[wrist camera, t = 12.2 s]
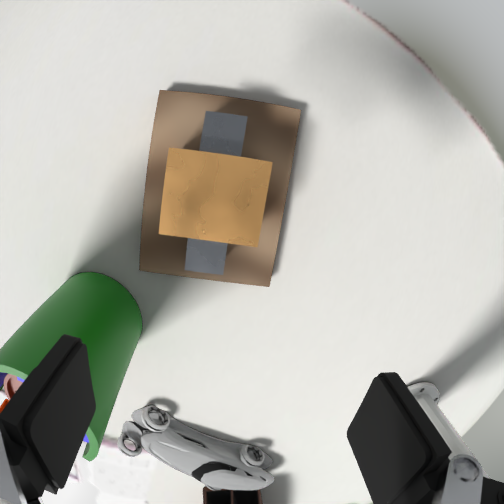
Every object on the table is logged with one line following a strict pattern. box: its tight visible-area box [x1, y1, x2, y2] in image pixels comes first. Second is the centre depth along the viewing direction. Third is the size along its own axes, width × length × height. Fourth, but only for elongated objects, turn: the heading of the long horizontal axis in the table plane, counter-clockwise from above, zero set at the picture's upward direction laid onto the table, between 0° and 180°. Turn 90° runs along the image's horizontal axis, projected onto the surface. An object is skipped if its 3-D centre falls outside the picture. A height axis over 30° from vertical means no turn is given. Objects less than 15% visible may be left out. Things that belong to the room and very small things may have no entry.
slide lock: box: [159, 148, 273, 247], centre depth 22 cm, size 6×7×4 cm
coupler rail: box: [185, 111, 248, 275], centre depth 23 cm, size 12×3×4 cm, turn 171°
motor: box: [0, 272, 142, 461], centre depth 19 cm, size 10×9×20 cm
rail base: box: [139, 90, 301, 287], centre depth 26 cm, size 16×12×2 cm
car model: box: [118, 405, 275, 490], centre depth 35 cm, size 11×24×5 cm, turn 52°
